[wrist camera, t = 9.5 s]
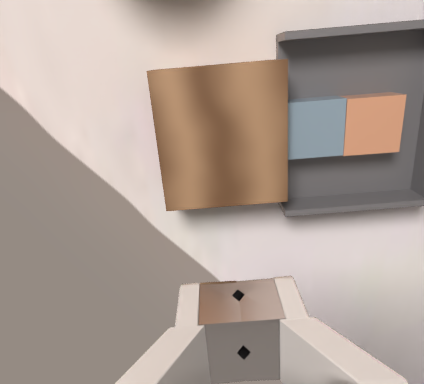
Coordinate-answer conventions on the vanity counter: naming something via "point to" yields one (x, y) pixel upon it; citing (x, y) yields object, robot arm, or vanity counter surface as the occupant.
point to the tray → (355, 85)
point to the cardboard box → (222, 133)
